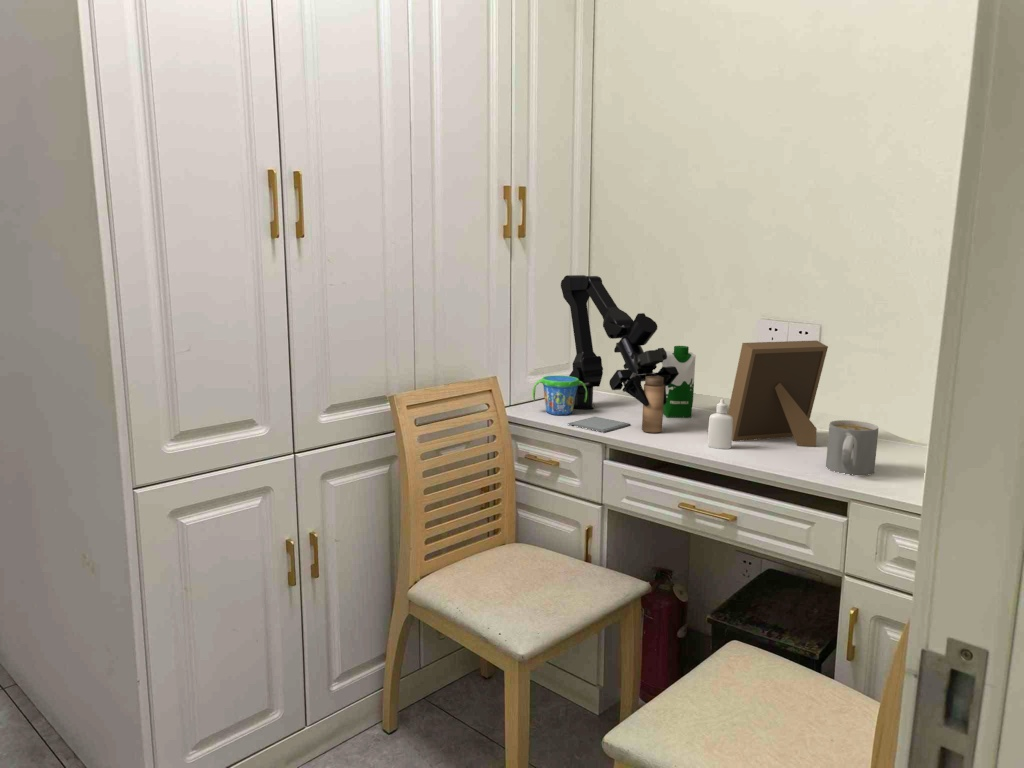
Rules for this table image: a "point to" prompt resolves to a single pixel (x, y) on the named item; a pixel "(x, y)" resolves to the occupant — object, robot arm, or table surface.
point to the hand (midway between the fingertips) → (656, 404)
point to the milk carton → (680, 383)
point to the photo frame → (776, 390)
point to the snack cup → (560, 393)
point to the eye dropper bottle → (720, 428)
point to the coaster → (599, 424)
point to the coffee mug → (852, 447)
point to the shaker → (653, 404)
